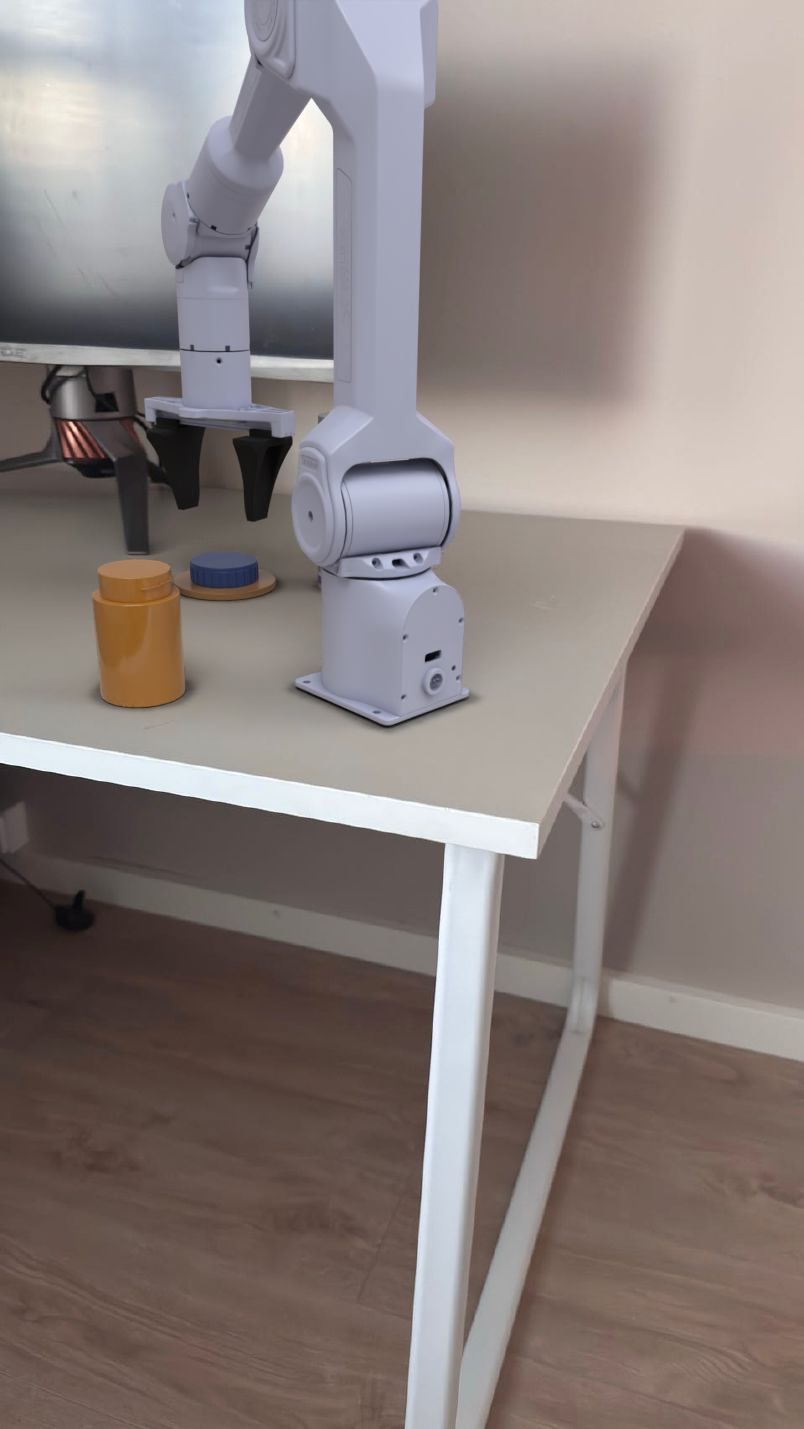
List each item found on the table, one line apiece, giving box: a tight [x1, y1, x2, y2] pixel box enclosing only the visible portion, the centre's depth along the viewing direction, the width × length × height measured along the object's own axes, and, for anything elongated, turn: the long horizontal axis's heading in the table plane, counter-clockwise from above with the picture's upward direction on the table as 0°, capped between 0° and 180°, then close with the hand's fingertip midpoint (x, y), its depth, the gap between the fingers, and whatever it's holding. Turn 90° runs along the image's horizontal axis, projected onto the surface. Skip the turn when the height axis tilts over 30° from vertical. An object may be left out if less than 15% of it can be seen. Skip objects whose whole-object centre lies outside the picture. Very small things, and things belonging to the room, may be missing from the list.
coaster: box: [173, 568, 277, 601], centre depth 96 cm, size 9×9×1 cm
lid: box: [189, 550, 259, 588], centre depth 96 cm, size 6×6×2 cm
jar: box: [91, 558, 186, 708], centre depth 71 cm, size 6×6×9 cm
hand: (222, 513), depth 94 cm, fingers open, 7 cm apart
